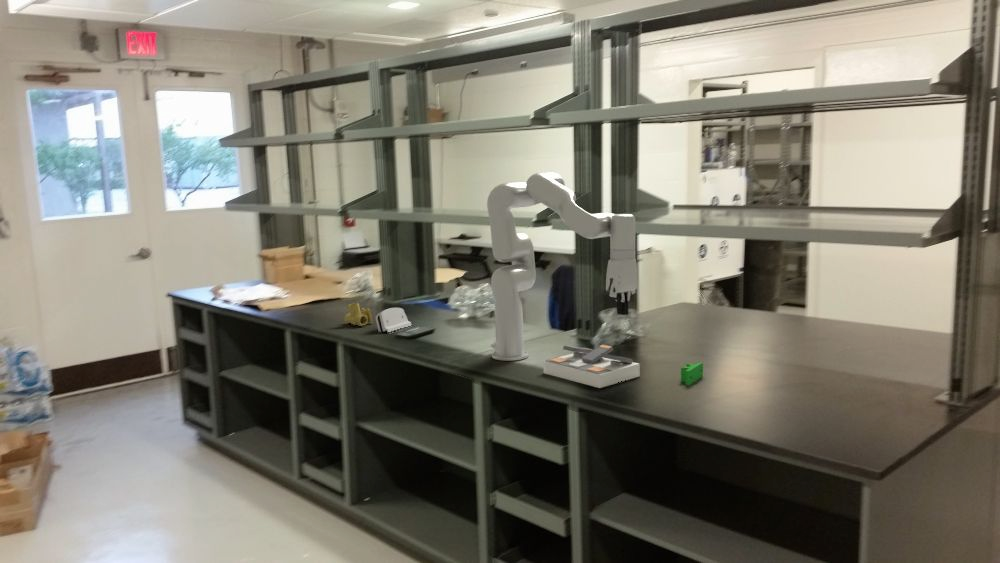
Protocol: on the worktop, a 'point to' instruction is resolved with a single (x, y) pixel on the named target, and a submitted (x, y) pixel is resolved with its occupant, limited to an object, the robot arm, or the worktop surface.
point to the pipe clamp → (691, 373)
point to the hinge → (392, 320)
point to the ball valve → (358, 315)
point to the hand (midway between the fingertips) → (622, 314)
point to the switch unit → (591, 370)
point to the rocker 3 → (616, 358)
